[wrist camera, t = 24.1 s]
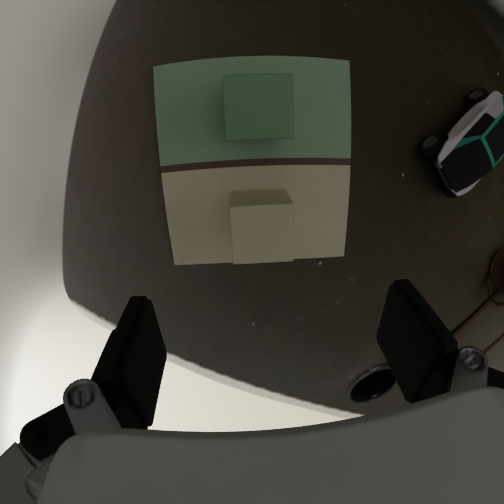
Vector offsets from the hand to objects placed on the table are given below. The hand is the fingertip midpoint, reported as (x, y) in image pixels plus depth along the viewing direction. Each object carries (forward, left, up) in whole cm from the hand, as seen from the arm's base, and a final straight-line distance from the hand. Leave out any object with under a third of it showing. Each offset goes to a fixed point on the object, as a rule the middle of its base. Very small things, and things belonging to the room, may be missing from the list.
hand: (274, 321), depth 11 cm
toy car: (+21, +7, -16) cm, 27 cm away
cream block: (0, -1, -15) cm, 15 cm away
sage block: (0, +8, -15) cm, 17 cm away
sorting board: (0, +4, -16) cm, 16 cm away
